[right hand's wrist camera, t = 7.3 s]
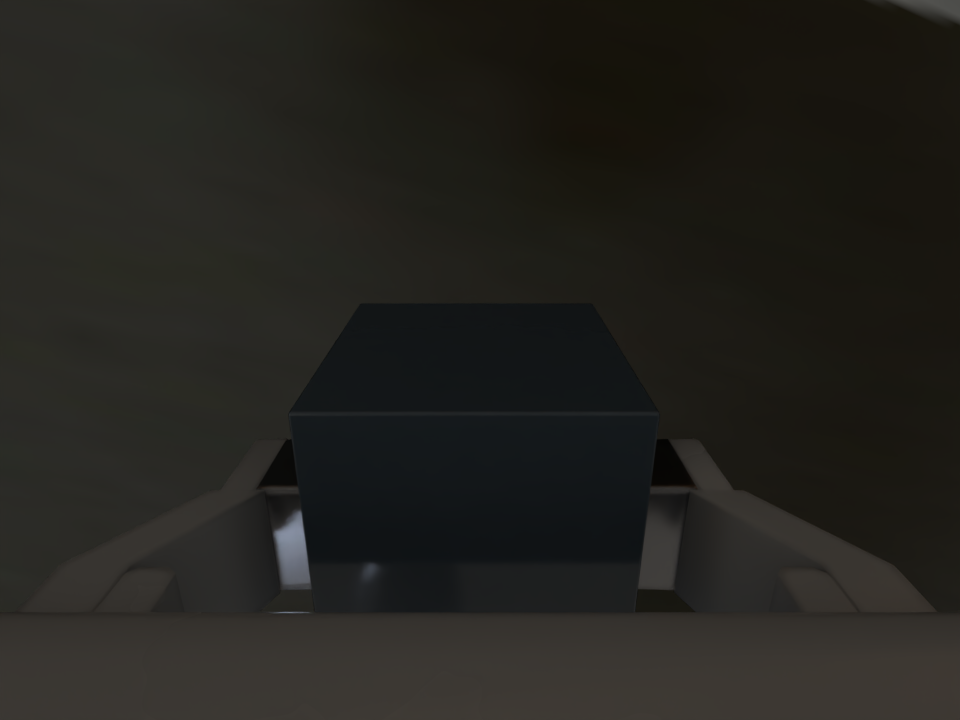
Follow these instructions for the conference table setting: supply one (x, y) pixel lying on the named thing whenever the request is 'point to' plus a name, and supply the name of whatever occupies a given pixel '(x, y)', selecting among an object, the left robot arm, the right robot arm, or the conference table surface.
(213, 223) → the conference table surface
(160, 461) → the conference table surface
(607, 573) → the block
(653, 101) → the conference table surface
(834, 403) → the conference table surface
